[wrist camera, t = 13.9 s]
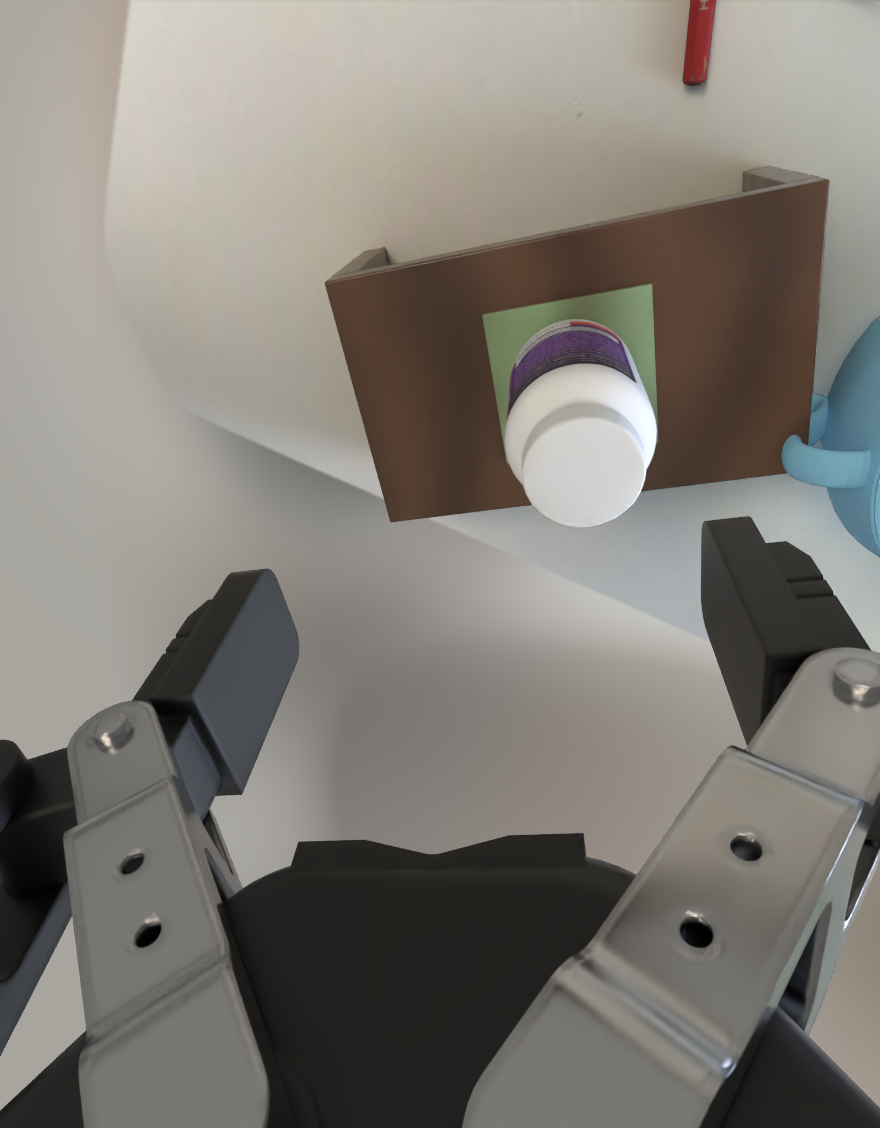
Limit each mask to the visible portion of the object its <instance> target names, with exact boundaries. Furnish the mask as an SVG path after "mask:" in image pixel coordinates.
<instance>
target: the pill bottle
mask: <svg viewBox="0 0 880 1128" xmlns="http://www.w3.org/2000/svg"><path fill="white" fill-rule="evenodd" d="M656 436H657V428H656V420H655V416H654V412H653V408H652V405H651V403H650V400H649V397H648V395H647V393H646V390H645V388H644V386H643V383H642V380H641V378H640V375H639V373H638V370H637V367H636V365H635V362H634V360H633V358H632V356H631V354H630V352H629V350H628V348H627V346H626V345H625V343H624V342H623V341H622V340H621V338H620V337H619V336H618V335H616V334H615V333H614V332H613V331H612V330H610V329H609V328H607V327H605V326H604V325H601V324H599V323H596V322H593V321H589V320H583V319H569V320H563V321H559V322H556V323H553V324H551V325H548V326H546V327H544V328H543V329H541V330H540V331H538V332H537V333H535V334H534V335H533V336H532V337H531V338H530V339H529V340H528V341H527V342H526V343H525V344H524V346H523V347H522V348H521V350H520V352H519V353H518V355H517V357H516V359H515V362H514V365H513V368H512V372H511V377H510V384H509V397H508V408H507V420H506V429H505V448H506V454H507V458H508V462H509V464H510V467H511V469H512V471H513V473H514V474H515V476H516V478H517V479H518V480H519V481H520V483H521V484H522V485H523V486H524V490H525V493H526V495H527V497H528V499H529V501H530V502H531V504H532V505H533V506H534V507H535V508H536V509H537V510H538V511H539V512H540V513H541V514H542V515H543V516H545V517H546V518H548V519H550V520H552V521H554V522H556V523H558V524H562V525H565V526H570V527H591V526H597V525H600V524H603V523H606V522H609V521H611V520H613V519H615V518H617V517H618V516H619V515H621V514H622V513H624V512H625V511H626V510H627V509H628V508H629V507H630V506H631V505H632V504H633V503H634V502H635V500H636V499H637V497H638V495H639V494H640V492H641V489H642V487H643V484H644V481H645V476H646V469H647V468H648V466H649V464H650V461H651V459H652V456H653V454H654V450H655V446H656Z"/></svg>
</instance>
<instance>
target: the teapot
mask: <svg viewBox="0 0 880 1128" xmlns="http://www.w3.org/2000/svg"><path fill="white" fill-rule="evenodd" d="M820 439H821V449H819V448H815V447H812V446H813V445H814V444H815V443H816V442H818V441H819V440H820ZM781 459H782V464H783V467H784V469H785V470H786V472H787V473H788V474H789V475H790V476H792V477H794V478H795V479H797V480H800V481H802V482H805V483H808V484H812V485H816V486H822V487H827V491H828V494H829V497H830V499H831V502H832V505H833V507H834V510H835V512H836V514H837V515H838V517H839V519H840V520H841V522H842V524H843V525H844V527H845V528H846V529H847V531H848V532H849V533H850V534H851V535H852V536H853V537H854V538H855V539H856V540H857V541H858V542H859V543H860V544H862V545H863V546H864V547H866V548H867V549H868V550H869V551H871V552H872V553H874V554H875V555H877V556H878V557H880V316H879V317H878V318H877V319H876V320H875V321H874V322H873V323H871V325H870V326H869V327H868V328H867V330H866V331H865V332H864V333H863V334H862V336H861V337H860V338H859V339H858V341H857V342H856V344H855V345H854V347H853V348H852V350H851V351H850V353H849V354H848V356H847V357H846V359H845V361H844V362H843V364H842V366H841V368H840V370H839V372H838V374H837V375H836V378H835V380H834V383H833V385H832V387H831V390H830V392H829V395H828V398H827V397H825V396H822V395H815V394H812V405H811V418H810V430H809V442H808V445H805V444H803V443H802V441H801V439H800V437H799V436H797V435H792V436H790V437H789V438H788V439H787V440H786V442H785V443H784V446H783V449H782V454H781Z"/></svg>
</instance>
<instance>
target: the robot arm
mask: <svg viewBox="0 0 880 1128" xmlns="http://www.w3.org/2000/svg"><path fill="white" fill-rule="evenodd" d="M701 604H702V613H703V619H704V623H705V627H706V631H707V633H708V636H709V639H710V642H711V645H712V648H713V650H714V653H715V656H716V658H717V662H718V665H719V667H720V670H721V673H722V676H723V679H724V682H725V684H726V687H727V690H728V693H729V696H730V698H731V701H732V704H733V707H734V710H735V713H736V716H737V719H738V721H739V724H740V727H741V730H742V733H743V736H744V738H745V741H746V744H747V747H746V748H745V749H744V750H743V749H741V748H738V747H736V746H729V747H727V748H726V749H725V750H724V751H723V752H722V753H721V755H720V756H719V757H718V758H717V760H716V762H715V763H714V764H713V766H712V767H711V769H710V770H709V771H708V773H707V774H706V776H705V777H704V779H703V780H702V782H701V783H700V785H699V786H698V787H697V789H696V790H695V792H694V793H693V795H692V796H691V798H690V799H689V800H688V802H687V803H686V805H685V806H684V808H683V809H682V810H681V812H680V813H679V815H678V816H677V818H676V819H675V821H674V822H673V824H672V825H671V826H670V828H669V829H668V831H667V832H666V834H665V835H664V836H663V838H662V839H661V841H660V842H659V844H658V845H657V847H656V848H655V849H654V851H653V852H652V854H651V855H650V857H649V858H648V860H647V861H646V862H645V864H644V865H643V867H642V868H641V870H640V871H639V873H638V874H637V875H636V874H634V873H632V872H630V871H627V870H625V869H623V868H621V867H619V866H616V865H613V864H610V863H607V862H604V861H602V860H597V859H593V858H589V857H586V850H585V843H584V834H583V833H575V834H574V833H573V834H540V835H509V836H505V837H501V838H497V839H494V840H490V841H486V842H482V843H478V844H475V845H471V846H467V847H463V848H460V849H456V850H452V851H448V852H444V853H441V854H424V853H420V852H416V851H411V850H406V849H402V848H398V847H394V846H389V845H384V844H380V843H376V842H372V841H367V840H341V841H309V842H298V845H297V848H296V852H295V855H294V858H293V861H292V864H291V866H289V867H286V868H283V869H280V870H278V871H275V872H273V873H270V874H268V875H266V876H264V877H262V878H260V879H258V880H256V881H254V882H252V883H251V884H249V885H248V886H246V887H244V888H243V887H242V885H241V882H240V880H239V877H238V875H237V872H236V870H235V867H234V865H233V862H232V859H231V857H230V854H229V852H228V849H227V847H226V844H225V842H224V839H223V836H222V834H221V831H220V829H219V826H218V823H217V821H216V818H215V817H214V815H213V813H212V811H211V809H210V806H211V804H212V802H213V800H214V797H215V796H221V795H242V793H243V791H244V788H245V786H246V783H247V781H248V779H249V776H250V774H251V772H252V769H253V767H254V764H255V762H256V760H257V757H258V755H259V752H260V750H261V747H262V745H263V742H264V740H265V738H266V735H267V733H268V731H269V728H270V726H271V723H272V721H273V719H274V716H275V714H276V711H277V709H278V706H279V704H280V702H281V699H282V697H283V694H284V692H285V690H286V687H287V685H288V683H289V680H290V678H291V675H292V673H293V671H294V668H295V665H296V663H297V660H298V655H299V639H298V634H297V630H296V628H295V625H294V622H293V620H292V617H291V614H290V612H289V610H288V607H287V604H286V601H285V599H284V596H283V593H282V591H281V588H280V586H279V583H278V580H277V578H276V576H275V574H274V573H273V572H272V571H271V570H270V569H259V570H250V571H242V572H233V573H230V574H229V575H228V576H227V578H226V579H225V581H224V582H223V584H222V585H221V587H220V589H219V590H218V592H217V593H216V595H215V596H214V598H213V599H212V600H207V601H206V602H205V603H204V604H203V605H202V606H200V607H199V608H198V609H197V610H196V611H194V612H193V613H192V614H191V615H190V616H188V618H187V619H186V621H185V622H184V623H183V625H182V626H181V628H180V630H179V631H178V633H177V634H176V639H173V640H172V641H171V643H170V645H169V646H168V647H167V649H166V654H163V655H162V656H161V658H160V659H159V661H158V662H157V664H156V665H155V667H154V668H153V670H152V671H151V673H150V674H149V676H148V677H147V679H146V680H145V682H144V683H143V685H142V686H141V688H140V689H139V691H138V692H137V694H136V695H135V697H134V698H133V700H132V701H127V702H122V703H119V704H116V705H113V706H111V707H108V708H106V709H104V710H102V711H100V712H99V713H97V714H96V715H94V716H92V717H91V718H90V719H89V720H87V721H86V722H85V723H84V724H83V725H82V726H80V727H79V729H78V730H77V731H76V732H75V733H74V735H73V736H72V738H71V740H70V742H69V744H68V747H67V748H64V749H61V750H57V751H54V752H51V753H48V754H44V755H41V756H38V757H35V758H32V759H28V760H27V758H26V757H25V756H24V754H23V753H22V751H21V750H20V749H19V748H18V746H17V745H16V744H15V743H14V742H12V741H9V740H0V1056H1V1054H2V1052H3V1050H4V1048H5V1046H6V1044H7V1042H8V1040H9V1038H10V1036H11V1034H12V1032H13V1030H14V1028H15V1026H16V1024H17V1023H18V1021H19V1019H20V1016H21V1015H22V1012H23V1011H24V1009H25V1007H26V1005H27V1003H28V1001H29V999H30V997H31V995H32V993H33V991H34V989H35V987H36V985H37V983H38V981H39V979H40V977H41V975H42V974H43V972H44V970H45V968H46V966H47V964H48V962H49V960H50V958H51V956H52V954H53V952H54V950H55V948H56V946H57V944H58V942H59V940H60V938H61V936H62V934H63V932H64V930H65V928H66V926H67V924H68V922H69V921H70V919H71V917H72V916H73V925H74V933H75V941H76V949H77V957H78V965H79V973H80V982H81V990H82V998H83V1005H84V1013H85V1022H86V1031H85V1032H84V1033H83V1034H82V1035H81V1036H80V1037H79V1038H78V1039H77V1040H75V1041H74V1043H72V1044H71V1045H70V1046H69V1047H68V1048H67V1049H66V1050H65V1051H64V1052H63V1053H61V1054H60V1055H59V1056H58V1057H57V1058H56V1059H55V1060H54V1061H53V1062H52V1063H51V1064H50V1065H49V1066H48V1067H46V1068H45V1069H44V1070H43V1071H42V1072H41V1073H40V1074H39V1075H38V1076H37V1077H36V1078H35V1079H34V1080H33V1081H32V1082H31V1083H29V1084H28V1085H27V1086H26V1087H25V1088H24V1089H23V1090H22V1091H21V1092H20V1093H19V1094H18V1095H17V1096H15V1097H14V1098H13V1099H12V1100H11V1101H10V1102H9V1103H8V1104H7V1105H6V1106H5V1107H4V1108H3V1109H2V1110H1V1111H0V1128H880V1108H879V1107H878V1106H877V1105H876V1104H875V1103H874V1102H873V1101H872V1100H871V1099H870V1098H869V1097H868V1096H867V1095H866V1094H865V1093H864V1092H863V1091H862V1090H861V1089H860V1088H859V1087H858V1086H857V1085H856V1084H855V1083H854V1082H853V1081H852V1080H851V1079H850V1078H849V1077H848V1075H847V1074H845V1073H844V1072H843V1070H841V1069H840V1067H839V1066H838V1065H836V1063H835V1062H833V1060H832V1059H831V1058H830V1057H829V1056H828V1055H827V1054H826V1053H825V1052H824V1051H823V1050H822V1049H821V1048H820V1047H819V1046H818V1045H817V1044H816V1043H815V1042H814V1041H813V1040H812V1039H811V1038H810V1037H809V1033H810V1031H811V1029H812V1027H813V1024H814V1022H815V1020H816V1017H817V1015H818V1013H819V1010H820V1008H821V1005H822V1003H823V1000H824V998H825V995H826V992H827V990H828V987H829V984H830V981H831V978H832V975H833V972H834V969H835V966H836V963H837V959H838V957H839V954H840V951H841V948H842V946H843V943H844V941H845V939H846V936H847V934H848V932H849V929H850V927H851V925H852V922H853V920H854V918H855V915H856V913H857V911H858V909H859V907H860V904H861V902H862V900H863V897H864V895H865V893H866V891H867V888H868V886H869V884H870V882H871V879H872V877H873V875H874V872H875V870H876V868H877V865H878V863H879V861H880V653H878V652H874V651H871V649H870V648H869V646H868V645H867V643H866V642H865V640H864V639H863V637H862V635H861V634H860V632H859V631H858V629H857V628H856V626H855V625H854V623H853V621H852V620H851V618H850V617H849V615H848V614H847V612H846V611H845V609H844V608H843V606H842V604H841V603H840V601H839V600H838V598H837V597H836V596H834V595H833V591H832V589H831V587H830V586H829V584H828V583H827V581H826V580H823V575H822V574H821V572H820V570H819V569H818V567H817V566H816V564H815V563H814V561H813V560H812V558H811V557H810V556H809V555H807V554H806V553H804V552H803V551H801V550H799V549H798V548H796V547H795V546H793V545H791V544H790V543H788V542H787V541H784V542H774V543H765V541H764V539H763V537H762V536H761V534H760V532H759V530H758V529H757V527H756V525H755V523H754V521H753V520H752V518H751V517H749V516H747V517H738V518H729V519H720V520H711V521H704V522H703V525H702V537H701Z"/></svg>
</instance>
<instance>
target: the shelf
mask: <svg viewBox="0 0 880 1128" xmlns="http://www.w3.org/2000/svg"><path fill="white" fill-rule="evenodd" d="M829 183H830V181H829V179H824V178H820V177H817V176H813V175H808V174H804V173H799V172H795V171H790V170H785V169H781V168H776V167H772V166H767V167H762V168H757V169H752V170H748V171H744V172H743V193H738V194H733V195H728V196H723V197H718V198H713V199H709V200H704V201H699V202H694V203H689V204H684V205H679V206H674V207H670V208H665V209H660V210H655V211H650V212H645V213H640V214H635V215H631V216H626V217H621V218H616V219H611V220H606V221H601V222H596V223H592V224H587V225H582V226H577V227H572V228H567V229H562V230H557V231H553V232H548V233H543V234H538V235H533V236H528V237H523V238H518V239H514V240H509V241H504V242H499V243H494V244H489V245H484V246H479V247H475V248H470V249H465V250H460V251H455V252H450V253H445V254H440V255H436V256H431V257H426V258H421V259H416V260H411V261H406V262H401V263H397V264H392V265H389V264H388V259H387V255H386V251H385V248H384V247H383V248H378V249H373V250H369V251H364V252H363V253H361V254H360V255H359V256H358V257H356V258H355V259H354V260H352V261H351V262H350V263H349V264H347V265H346V266H345V267H343V268H342V269H341V270H340V271H338V272H337V273H336V274H334V275H333V276H332V277H331V278H330V279H329V280H327V281H326V282H325V286H326V290H327V293H328V297H329V300H330V304H331V308H332V311H333V315H334V319H335V322H336V326H337V330H338V333H339V337H340V340H341V344H342V348H343V351H344V355H345V359H346V362H347V366H348V370H349V373H350V377H351V380H352V384H353V388H354V391H355V395H356V399H357V402H358V406H359V409H360V413H361V417H362V420H363V424H364V428H365V431H366V435H367V439H368V442H369V446H370V449H371V453H372V457H373V460H374V464H375V468H376V471H377V475H378V479H379V482H380V486H381V489H382V493H383V497H384V500H385V504H386V508H387V511H388V515H389V518H390V521H391V522H397V521H405V520H413V519H422V518H430V517H438V516H446V515H454V514H462V513H470V512H478V511H486V510H494V509H503V508H511V507H519V506H527V505H532V504H531V502H530V501H529V499H528V497H527V495H526V493H525V490H524V486H523V485H522V484H521V483H520V481H519V480H518V479H517V478H516V476H515V474H514V473H513V471H512V469H511V467H510V464H509V462H508V458H507V454H506V448H505V429H506V420H507V408H508V397H509V384H510V377H511V372H512V368H513V365H514V362H515V359H516V357H517V355H518V353H519V352H520V350H521V348H522V347H523V346H524V344H525V343H526V342H527V341H528V340H529V339H530V338H531V337H532V336H533V335H534V334H535V333H537V332H538V331H540V330H541V329H543V328H544V327H546V326H548V325H551V324H553V323H556V322H559V321H563V320H569V319H583V320H589V321H593V322H596V323H599V324H601V325H604V326H605V327H607V328H609V329H610V330H612V331H613V332H614V333H615V334H616V335H618V336H619V337H620V338H621V340H622V341H623V342H624V343H625V345H626V346H627V348H628V350H629V352H630V354H631V356H632V358H633V360H634V362H635V365H636V367H637V370H638V373H639V375H640V378H641V380H642V383H643V386H644V388H645V390H646V393H647V395H648V397H649V400H650V403H651V405H652V408H653V412H654V416H655V420H656V428H657V436H656V446H655V450H654V454H653V456H652V459H651V461H650V464H649V466H648V468H647V469H646V476H645V481H644V484H643V487H642V489H641V491H648V490H656V489H664V488H672V487H680V486H688V485H697V484H705V483H713V482H721V481H729V480H737V479H745V478H753V477H761V476H769V475H777V474H785V473H787V472H786V470H785V469H784V467H783V464H782V459H781V454H782V449H783V446H784V443H785V442H786V440H787V439H788V438H789V437H790V436H792V435H797V436H799V437H800V439H801V441H802V443H803V444H805V445H808V442H809V430H810V418H811V405H812V393H813V380H814V368H815V356H816V343H817V331H818V319H819V306H820V294H821V282H822V269H823V257H824V244H825V232H826V220H827V207H828V195H829Z"/></svg>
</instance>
